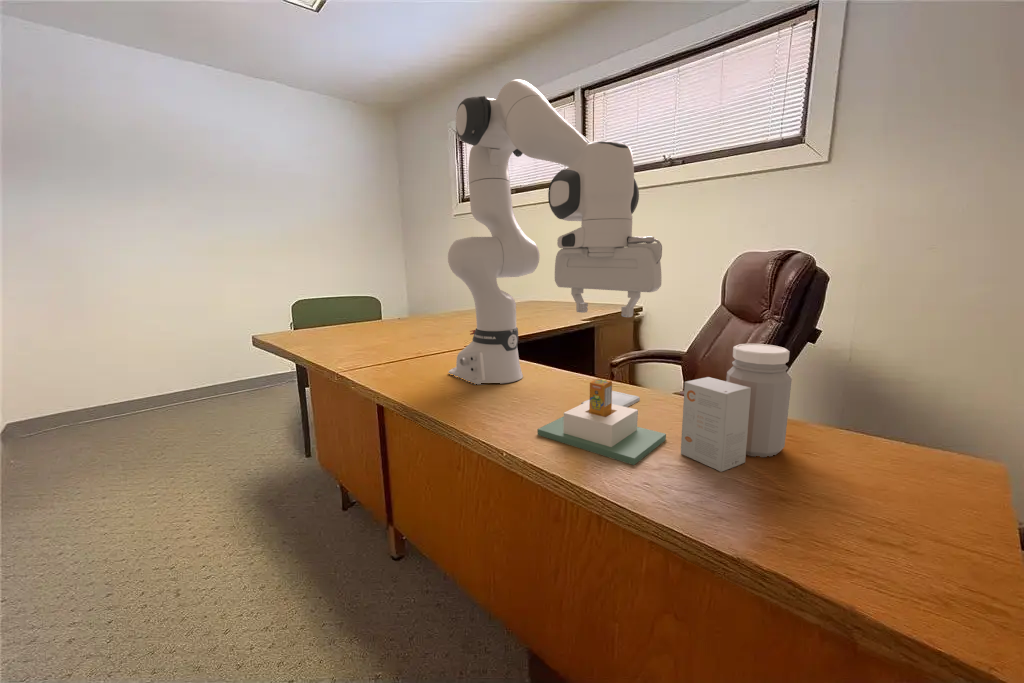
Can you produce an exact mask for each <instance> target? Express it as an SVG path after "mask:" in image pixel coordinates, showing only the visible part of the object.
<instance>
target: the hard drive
mask: <svg viewBox="0 0 1024 683" xmlns="http://www.w3.org/2000/svg"><path fill="white" fill-rule="evenodd" d="M589 400H590V398H589V399H586V400H585V401H582V402H581V403H580V405H581V404H583V403H585V402H587V401H589ZM640 401H641V399H640V396H638V395H635V394H634V395H633V394H629V393H624V392H620V391H615V390H612V404H615V405H619V406H623V407H628V408H629V407H630V406H632V405H634V404H636V403H638V402H640Z"/></svg>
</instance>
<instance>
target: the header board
mask: <svg viewBox="0 0 1024 683" xmlns="http://www.w3.org/2000/svg"><path fill="white" fill-rule="evenodd" d="M588 400H589V399H588ZM586 401H587V400H586ZM589 407H590V400H589V401H587V402H585V403H583V404H581V403H580V404H579V405H577V406H575V407H573V408H570V409H569V410H567V411H564V412H563V416H561V417H559V418H557V419H555V420H553V421H551V422H549V423H547V424H545V425H543V426H541V427H539V428H538V429H537V436H540V437H543V438H545V439H549V440H552V441H556V442H559V443H563V444H565V445H568V446H572V447H575V448H578V449H581V450H584V451H588V452H591V453H593V454H597V455H601V456H603V457H607V458H609V459H614V460H617V461H620V462H623V463H626V464H629V465H631V466H635V465H636V464H638V463H639V462H641V460H642V459H643V458H645V457H646V456H648V455H649V454H650V453H651V452H652V451H654V450H655V449H657V447H660V445H662V444H663V443H664V442H665V441H667V433H664V432H661V431H656V430H653V429H648V428H644V427H640V426H638V417H639V416H638V415H639V413H638V412H639V410H638V409H636V408H632V407H629V406H628V407H623V406H619V405H615V404H612V413H611V414H610V415H609V416H607V417H603V416H599V415H595V414H591V413H589Z"/></svg>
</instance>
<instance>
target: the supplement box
mask: <svg viewBox="0 0 1024 683" xmlns="http://www.w3.org/2000/svg"><path fill="white" fill-rule="evenodd" d="M612 391H613V380H606V379H603V378H602V379H601V378H596V379H594V380H592V381H590V382H589V399H590V407H589V413H591V414H595V415H599V416H603V417H607V416H609V415H610V414H611V413H612Z"/></svg>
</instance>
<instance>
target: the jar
mask: <svg viewBox="0 0 1024 683" xmlns="http://www.w3.org/2000/svg"><path fill="white" fill-rule="evenodd" d="M790 352H791V351H790V350H788V349H787V348H785V347H782V346H778V345H773V344H767V343H766V344H764V343H739V344H737V345H734V346H733V348H732V357H733V358H734V360H733V361H732V362H731V364H732V365H733V366H732V367H731V368H729V369H728V370H727V371H726V379H725V381H727V382H730V383H734V384H738V385H742V386H746V387H750V388H751V394H750V407H749V419H748V433H747V445H746V456H749V457H756V456H760V457H759V458H768V457H767V456H769V457H774V456H773V455H775V456H776V455H777V454H778V453H780V452H781V451H783V449H784V448H785V446H786V445H785V444H786V435H787V426H788V416H789V408H790V400H791V398H790V397H791V391H792V390H791V389H792V380H793V379H792V377H791V376H790V375H789V373H788V372H787V370H788V369H789V367H788V365H786V363H788V362H789V360H790Z"/></svg>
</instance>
